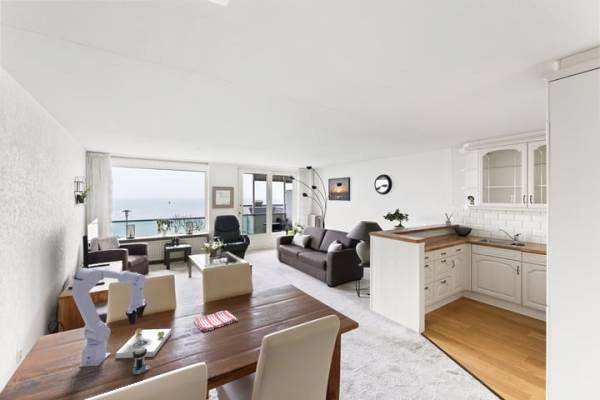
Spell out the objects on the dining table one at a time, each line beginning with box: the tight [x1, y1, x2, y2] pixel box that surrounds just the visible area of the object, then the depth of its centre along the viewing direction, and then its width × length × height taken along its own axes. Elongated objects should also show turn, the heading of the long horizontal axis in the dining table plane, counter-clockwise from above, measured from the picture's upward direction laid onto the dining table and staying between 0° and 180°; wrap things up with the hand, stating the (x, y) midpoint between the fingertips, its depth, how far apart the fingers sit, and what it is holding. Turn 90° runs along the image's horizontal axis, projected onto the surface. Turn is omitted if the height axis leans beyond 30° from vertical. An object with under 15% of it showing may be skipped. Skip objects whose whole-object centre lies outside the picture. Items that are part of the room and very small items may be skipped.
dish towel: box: [193, 310, 239, 333], centre depth 160 cm, size 17×23×4 cm
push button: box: [132, 347, 150, 376], centre depth 111 cm, size 7×5×10 cm
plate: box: [115, 328, 172, 359], centre depth 132 cm, size 22×17×2 cm
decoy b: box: [157, 331, 164, 338], centre depth 135 cm, size 3×3×3 cm
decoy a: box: [134, 327, 143, 335], centre depth 137 cm, size 3×3×3 cm
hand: (136, 320), depth 137 cm, fingers open, 7 cm apart
